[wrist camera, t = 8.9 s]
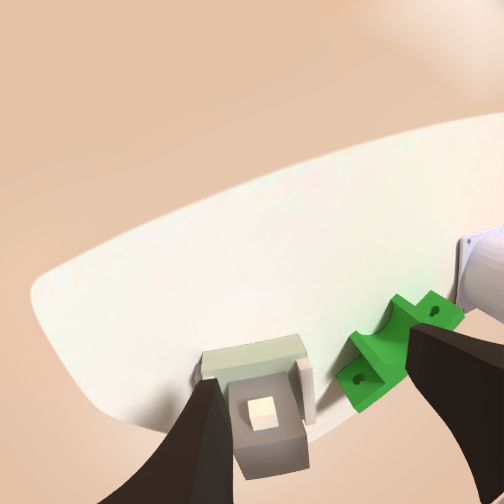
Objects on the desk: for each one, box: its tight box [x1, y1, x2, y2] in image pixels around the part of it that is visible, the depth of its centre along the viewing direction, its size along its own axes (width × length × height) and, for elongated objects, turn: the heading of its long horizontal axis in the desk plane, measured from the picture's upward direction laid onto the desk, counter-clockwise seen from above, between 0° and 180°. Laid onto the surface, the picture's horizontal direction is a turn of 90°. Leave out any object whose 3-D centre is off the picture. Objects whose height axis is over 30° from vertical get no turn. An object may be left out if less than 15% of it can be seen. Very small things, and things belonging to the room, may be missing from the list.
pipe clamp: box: [336, 290, 465, 413], centre depth 19 cm, size 11×4×5 cm, turn 130°
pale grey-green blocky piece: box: [194, 334, 316, 426], centre depth 19 cm, size 8×7×4 cm
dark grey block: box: [228, 371, 310, 480], centre depth 15 cm, size 4×5×6 cm
